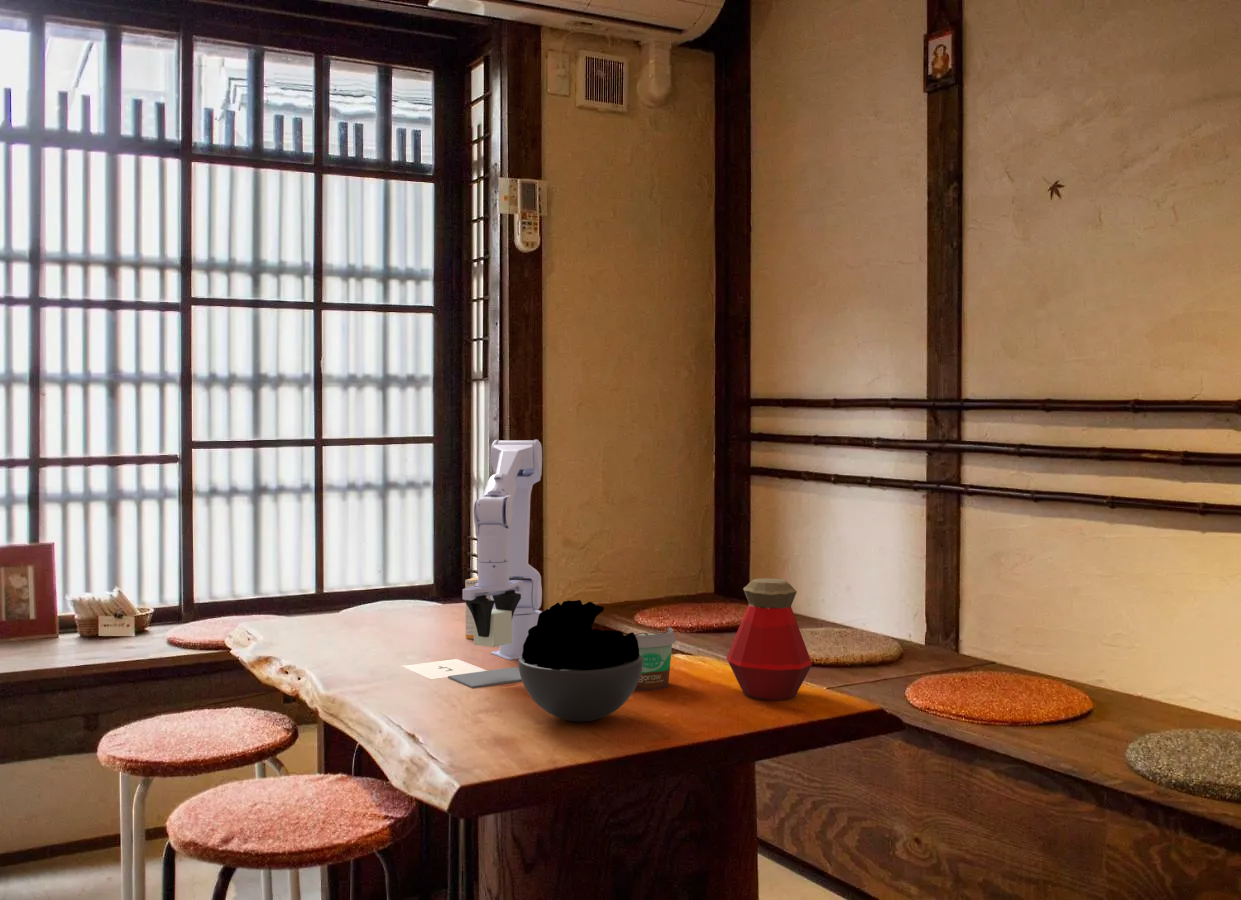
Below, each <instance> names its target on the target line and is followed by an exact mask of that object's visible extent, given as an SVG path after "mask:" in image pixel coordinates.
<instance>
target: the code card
mask: <svg viewBox="0 0 1241 900" xmlns="http://www.w3.org/2000/svg"><path fill="white" fill-rule="evenodd" d="M401 667H402V668H404V669H407V670H409V671H411V672H413V673H416V674H418V675H420V676H422V677H425V678H427V679H430V680H435V679H443V678H448V676H452V675H459V674H467V673H474V672H481V671H488V670H486V669H485V668H481V667H479V666H476V665H474V664H471V663H469V662H466V661H463V660H460V659H459V658H454V659H446V660H438V661H429V662H422V663H416V664H409V665H408V664H407V665H406V664H405V665H401Z"/></svg>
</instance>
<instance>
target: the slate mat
mask: <svg viewBox="0 0 1241 900" xmlns="http://www.w3.org/2000/svg"><path fill="white" fill-rule="evenodd" d="M447 679H449V680H451V681H454V682H457V683H458V684H461V685H462V686H465V687H468V688H470V689H478V688H483V687H491V686H497V685H498V686H499V685H507V684H513V683H519V682H522V679H521V676H520V672H519V667H516V666H512V667H504V668H497V669H489V670H487V671H481V672H474V673H467V674H459V675H452V676H448V677H447Z"/></svg>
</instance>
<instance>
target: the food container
mask: <svg viewBox="0 0 1241 900" xmlns="http://www.w3.org/2000/svg"><path fill="white" fill-rule="evenodd" d="M623 635H625V634H624V633H623ZM634 635H635V636H636V638H637V640H638V647H639V654H640V655H641V656H642V657H643V667H642V672H641V676H640V678H639V681H638V684H637V686H636V688H635V690H636V691H637V692H639V691H640V692H644V691H645V692H650V691H651V692H652V691H659V690H663V689H666V688H668V687H669V682H670V671H671V670H670V669H671V660H672V647H673V644H675V643H676V641H677V640H676V635H675V632H674V629H673V628H672V627H670V626H669V627H668V629H667V631H663V632H655V633H654V632H638V633H636V634H635V633H634ZM635 690H634V691H635Z"/></svg>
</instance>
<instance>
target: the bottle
mask: <svg viewBox="0 0 1241 900" xmlns="http://www.w3.org/2000/svg"><path fill="white" fill-rule="evenodd" d="M742 590H743V592H744V595H745V597H746V599H747V602H748V606H747V607H746V611H745V612H744V615H743V618H742V619H741V622H740V624H739V627H738V629H737V631H736V634H735V636H734V639H733V641H732V643H731V646H730V648H729V650H728V653H727V655H726V660H727V663H728V664H729V666H730V668H731V670H732V673H733V674H734V677H735V679H736V680H737V683H738V684H739V687H740V689H741V691H742V694H744V696H745V697H748V698H750V699H753V700H754V699H755V700H760V701H768V702H769V701H770V702H780V701H789V700H792V699H793V698H795V697H796V696H797V693H798V692H799V690H800V688H801V686H802V684H803V683H804V681H805V679H806V677H807V675H808V673H809V671H810V669H811V668H812V665H813V662H812V660H811V657H810V654H809V652H808V649H807V647H806V644H805V643H806V642H805V641H804V638H803V636H802V632H801V630H800V628H799V624H798V621H797V619H796V616H795V614H794V611H793V607H792V605H793V602H794V600H795V597H796V596H797V592H798V590H796V589H795V588H794V587H793V586H792V585H791V584H790V583H789V582H788V581H787V580H786V579H782V578H772V577H771V578H767V577H764V578H755V579H752V580H751V581H750V582H749V583H747V585H746V586H743V588H742Z"/></svg>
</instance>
